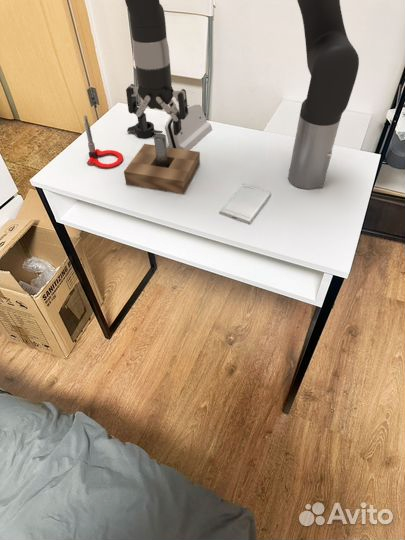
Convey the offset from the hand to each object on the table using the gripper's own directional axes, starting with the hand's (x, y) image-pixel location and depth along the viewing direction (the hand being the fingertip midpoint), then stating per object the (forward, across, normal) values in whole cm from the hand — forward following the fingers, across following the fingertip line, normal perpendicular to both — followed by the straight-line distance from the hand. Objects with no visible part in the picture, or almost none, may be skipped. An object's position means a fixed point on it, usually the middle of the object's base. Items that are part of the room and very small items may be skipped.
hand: (160, 131), depth 93 cm
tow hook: (+12, +18, -2) cm, 22 cm away
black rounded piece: (+13, +13, -19) cm, 26 cm away
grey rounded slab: (+13, 0, -20) cm, 24 cm away
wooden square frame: (+12, 0, 0) cm, 12 cm away
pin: (+12, 0, 0) cm, 12 cm away
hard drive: (+13, -24, +7) cm, 28 cm away
